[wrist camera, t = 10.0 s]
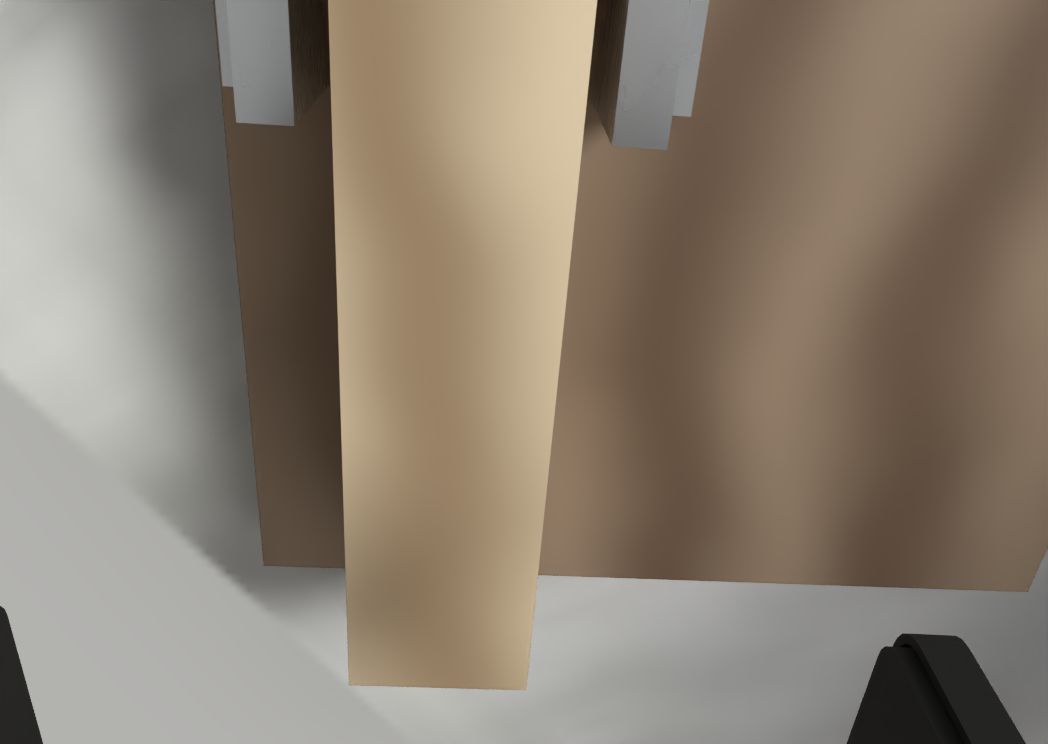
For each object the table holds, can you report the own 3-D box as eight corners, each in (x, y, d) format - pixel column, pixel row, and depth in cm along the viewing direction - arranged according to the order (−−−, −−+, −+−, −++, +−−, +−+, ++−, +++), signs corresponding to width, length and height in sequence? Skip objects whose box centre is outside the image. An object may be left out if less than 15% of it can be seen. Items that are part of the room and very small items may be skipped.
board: (1408, -414, 16) (1488, -441, 15) (1002, 558, 27) (1027, 591, 26) (190, -543, 15) (161, -585, 14) (275, 531, 26) (263, 565, 25)
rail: (590, -232, 16) (625, -277, 12) (520, 547, 25) (526, 690, 20) (367, -253, 16) (318, -306, 11) (375, 541, 24) (348, 685, 20)
